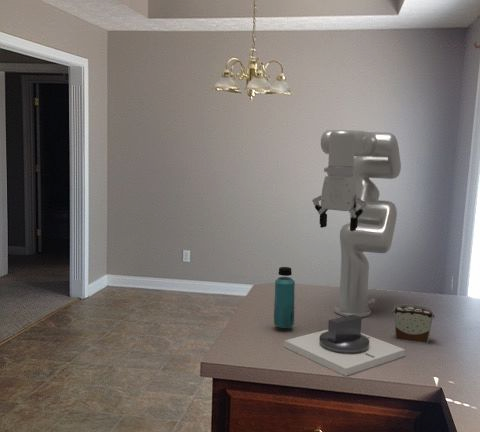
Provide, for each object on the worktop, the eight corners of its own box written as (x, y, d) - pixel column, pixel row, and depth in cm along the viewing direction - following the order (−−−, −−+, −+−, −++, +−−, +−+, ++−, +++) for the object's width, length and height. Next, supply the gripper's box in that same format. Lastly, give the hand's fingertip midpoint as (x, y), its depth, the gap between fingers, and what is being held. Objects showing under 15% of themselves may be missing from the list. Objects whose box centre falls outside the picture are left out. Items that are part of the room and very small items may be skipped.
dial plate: (341, 331, 178) (342, 325, 178) (404, 356, 159) (405, 349, 159) (284, 347, 164) (284, 340, 164) (345, 376, 145) (346, 368, 145)
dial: (343, 357, 152) (345, 330, 151) (309, 341, 163) (310, 315, 162) (379, 347, 160) (381, 321, 159) (344, 332, 171) (345, 308, 170)
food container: (433, 337, 175) (435, 306, 174) (432, 344, 169) (435, 312, 168) (392, 332, 179) (393, 301, 178) (390, 338, 173) (392, 307, 172)
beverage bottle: (292, 333, 176) (295, 270, 173) (271, 331, 177) (273, 269, 174) (294, 326, 182) (297, 266, 179) (274, 324, 184) (276, 264, 181)
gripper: (309, 171, 171) (306, 227, 173) (363, 174, 161) (360, 233, 164) (319, 170, 177) (317, 224, 179) (372, 173, 167) (369, 230, 170)
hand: (338, 228), depth 171 cm, fingers open, 9 cm apart
